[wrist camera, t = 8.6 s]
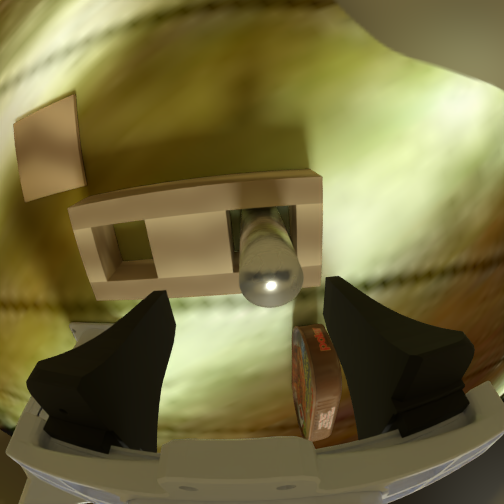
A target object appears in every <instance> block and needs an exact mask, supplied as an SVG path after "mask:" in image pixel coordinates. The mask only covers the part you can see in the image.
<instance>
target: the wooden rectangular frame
mask: <svg viewBox="0 0 504 504" xmlns="http://www.w3.org/2000/svg"><path fill="white" fill-rule="evenodd" d="M286 205H289V232H290V240H291V243H292V245H293V248H294V250H295V253H296V255H297V258H298V260H299V263H300V265H301V268H302V271H303V276H304V280H303V285H302V288H306V287H315V286H321V266H322V230H323V185H322V176H320V175H319V174H317V173H316V172H314V171H312V170H311V169H297V170H279V171H264V172H251V173H240V174H229V175H219V176H210V177H202V178H194V179H186V180H178V181H171V182H165V183H158V184H152V185H146V186H140V187H134V188H128V189H123V190H117V191H112V192H107V193H102V194H97V195H93V196H89V197H87V198H85V199H83V200H81V201H80V202H78V203H76V204H74V205H72V206H71V207H69V208H68V212H69V216H70V220H71V224H72V228H73V231H74V235H75V239H76V242H77V245H78V249H79V252H80V255H81V258H82V261H83V264H84V267H85V270H86V273H87V276H88V279H89V281H90V284H91V287H92V290H93V292H94V295H95V297H96V300H97V301H99V300H135V299H144V298H146V297H147V296H148V295H149V294H150V293H152V292H153V291H158V290H166V291H167V295H168V298H180V297H197V296H212V295H227V294H240V293H242V292H241V290H240V286H239V256H240V251H237V252H234V244H233V235H232V226H231V217H230V210H237V209H248V208H260V207H273V206H286ZM139 220H145V224H146V229H147V233H148V238H149V242H150V246H151V251H152V255H153V259H144V260H133V261H122V257H121V254H120V250H119V246H118V243H117V239H116V235H115V231H114V227H113V224H117V223H124V222H131V221H139Z"/></svg>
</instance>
